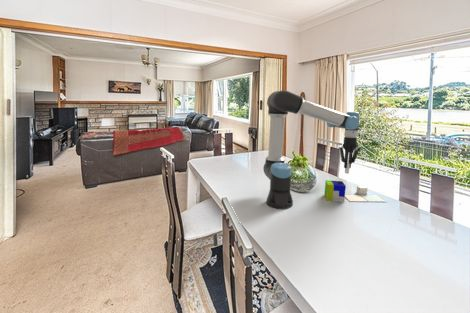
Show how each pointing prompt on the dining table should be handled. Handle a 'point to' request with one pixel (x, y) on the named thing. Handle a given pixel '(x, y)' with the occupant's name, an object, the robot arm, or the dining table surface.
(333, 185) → the puzzle toy
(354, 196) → the board
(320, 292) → the dining table surface
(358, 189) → the die
